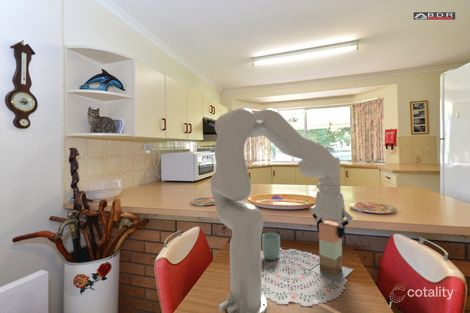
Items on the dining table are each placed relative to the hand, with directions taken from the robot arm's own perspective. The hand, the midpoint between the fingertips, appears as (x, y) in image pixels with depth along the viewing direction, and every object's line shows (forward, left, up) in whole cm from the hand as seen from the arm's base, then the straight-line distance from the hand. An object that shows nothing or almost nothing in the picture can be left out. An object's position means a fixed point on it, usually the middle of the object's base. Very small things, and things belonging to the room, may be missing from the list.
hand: (330, 233), depth 86 cm
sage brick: (0, 0, -8) cm, 8 cm away
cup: (-8, +23, -15) cm, 29 cm away
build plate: (0, 0, -15) cm, 15 cm away
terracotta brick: (0, 0, -2) cm, 2 cm away
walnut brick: (0, 0, -14) cm, 14 cm away
